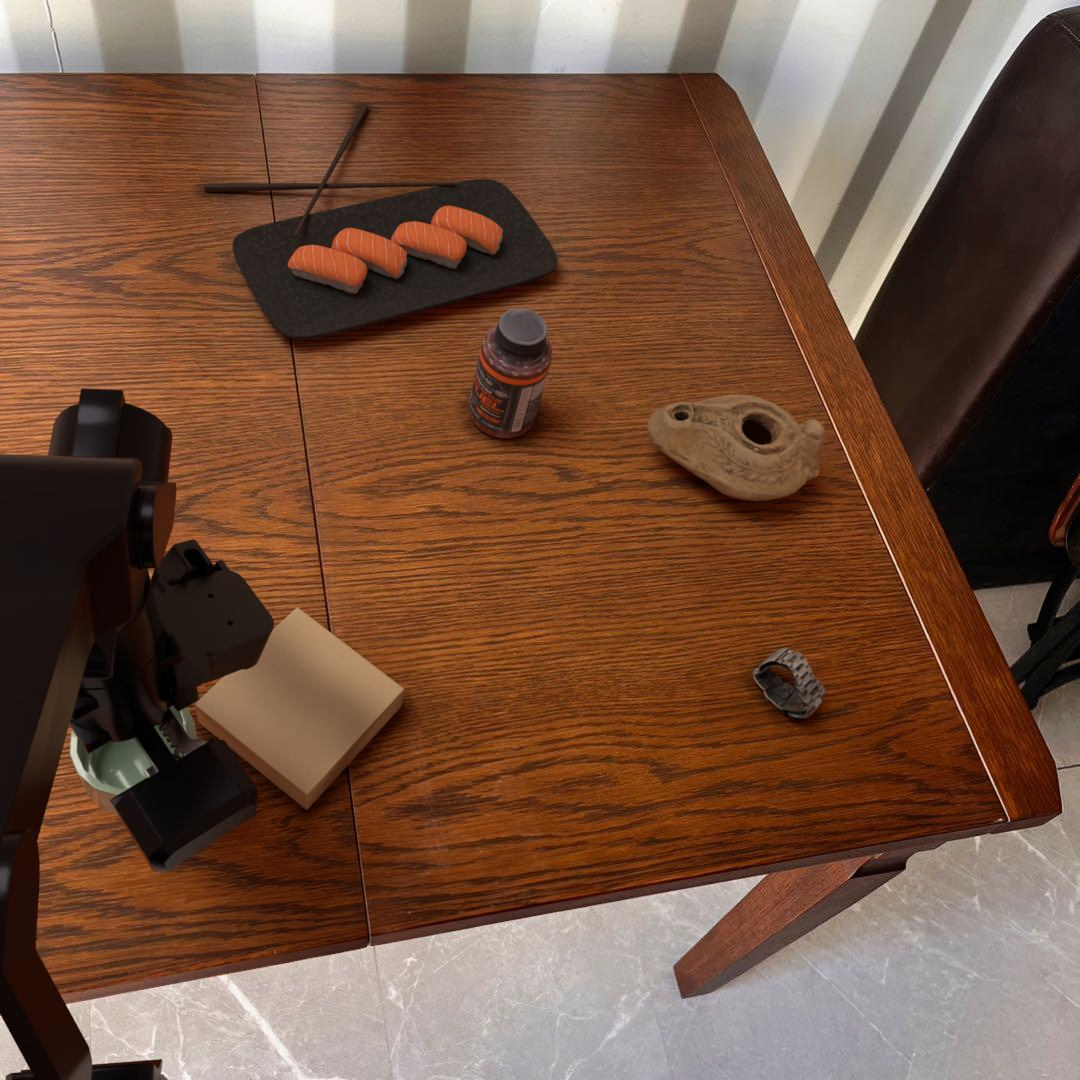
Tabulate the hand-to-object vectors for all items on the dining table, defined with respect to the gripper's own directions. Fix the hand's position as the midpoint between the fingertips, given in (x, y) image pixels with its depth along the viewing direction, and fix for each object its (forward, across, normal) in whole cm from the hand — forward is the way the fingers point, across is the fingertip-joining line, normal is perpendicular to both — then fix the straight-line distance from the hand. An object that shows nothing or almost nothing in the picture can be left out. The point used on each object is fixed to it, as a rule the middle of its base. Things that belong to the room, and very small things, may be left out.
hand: (139, 757), depth 65 cm
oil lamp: (+8, -1, -54) cm, 55 cm away
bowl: (+2, 0, 0) cm, 2 cm away
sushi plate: (+8, +41, -45) cm, 61 cm away
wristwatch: (+8, -20, -42) cm, 47 cm away
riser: (+8, 0, -11) cm, 14 cm away
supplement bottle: (+8, +14, -41) cm, 44 cm away
